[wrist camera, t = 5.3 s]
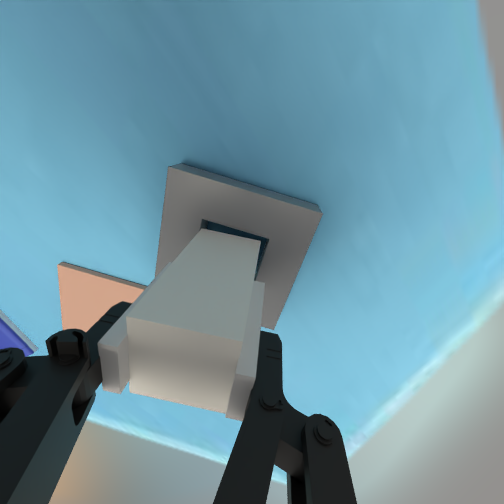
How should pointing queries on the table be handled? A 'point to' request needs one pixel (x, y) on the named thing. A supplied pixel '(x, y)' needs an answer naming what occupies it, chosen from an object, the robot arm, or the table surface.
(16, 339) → the hard drive
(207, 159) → the table surface
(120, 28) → the table surface
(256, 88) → the table surface
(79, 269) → the pad
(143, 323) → the plug
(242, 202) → the gray square ring
